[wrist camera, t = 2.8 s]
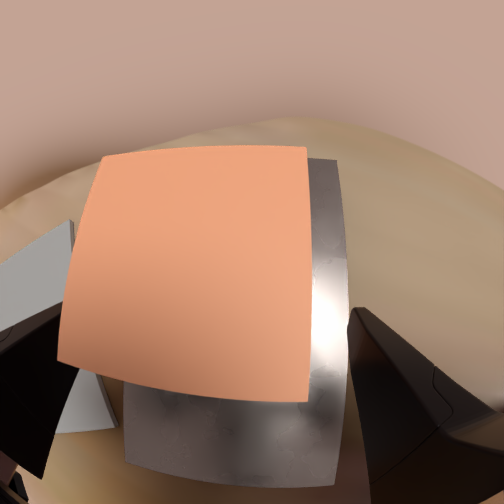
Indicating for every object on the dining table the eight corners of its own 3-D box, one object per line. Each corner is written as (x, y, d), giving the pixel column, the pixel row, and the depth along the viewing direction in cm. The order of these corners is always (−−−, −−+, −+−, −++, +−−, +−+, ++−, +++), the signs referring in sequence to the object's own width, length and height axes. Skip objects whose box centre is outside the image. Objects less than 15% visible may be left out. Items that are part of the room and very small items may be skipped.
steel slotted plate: (324, 465, 13) (333, 484, 10) (145, 448, 14) (125, 461, 11) (328, 184, 20) (336, 160, 17) (172, 182, 20) (160, 159, 18)
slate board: (119, 425, 14) (114, 427, 14) (19, 432, 13) (15, 433, 13) (73, 222, 20) (69, 219, 19) (-8, 275, 19) (-12, 273, 18)
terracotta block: (277, 360, 16) (307, 401, 4) (197, 355, 16) (57, 360, 4) (281, 282, 17) (305, 147, 6) (204, 278, 18) (102, 156, 6)
